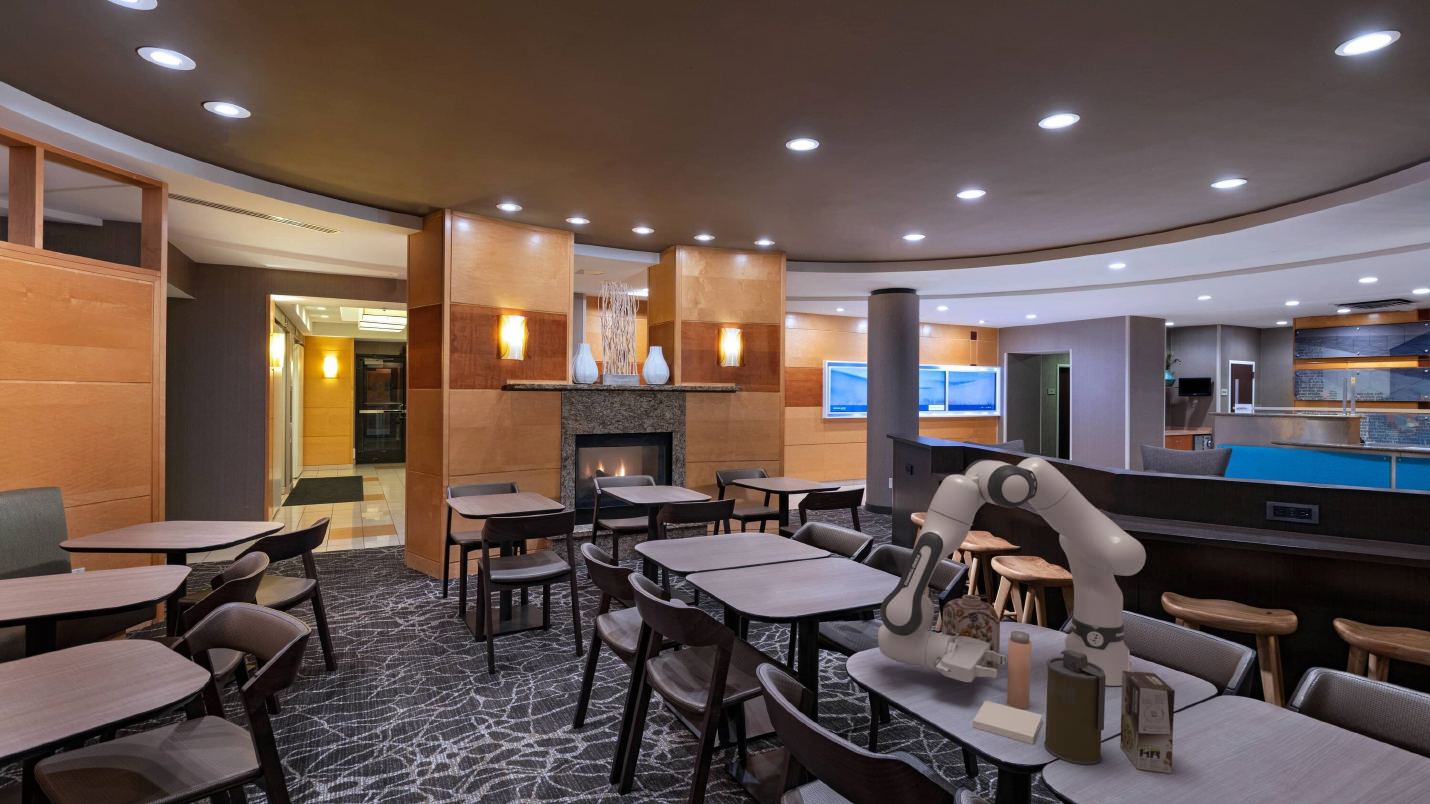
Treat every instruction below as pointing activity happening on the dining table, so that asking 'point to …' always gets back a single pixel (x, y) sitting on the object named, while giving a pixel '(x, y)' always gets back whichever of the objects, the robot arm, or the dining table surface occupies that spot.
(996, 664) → the decorative jar
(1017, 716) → the board
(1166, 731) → the coffee box
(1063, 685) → the canister
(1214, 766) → the dining table surface
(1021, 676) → the shaker
